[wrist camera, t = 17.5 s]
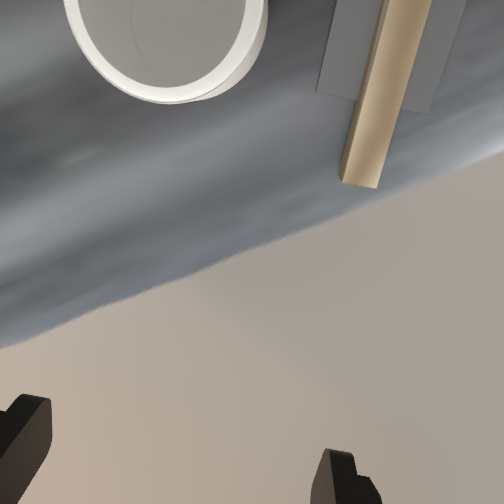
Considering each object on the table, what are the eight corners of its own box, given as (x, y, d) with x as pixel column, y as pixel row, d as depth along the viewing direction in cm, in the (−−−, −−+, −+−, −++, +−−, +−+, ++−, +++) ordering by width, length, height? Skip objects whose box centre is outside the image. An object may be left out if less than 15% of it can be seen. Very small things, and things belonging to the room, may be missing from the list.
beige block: (337, 175, 37) (342, 182, 35) (405, -90, 30) (417, -108, 27) (369, 180, 37) (376, 188, 35) (444, -83, 30) (461, -99, 27)
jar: (221, -76, 31) (174, -203, 17) (295, 45, 34) (304, 19, 20) (123, 16, 34) (16, -29, 20) (198, 120, 37) (149, 143, 23)
